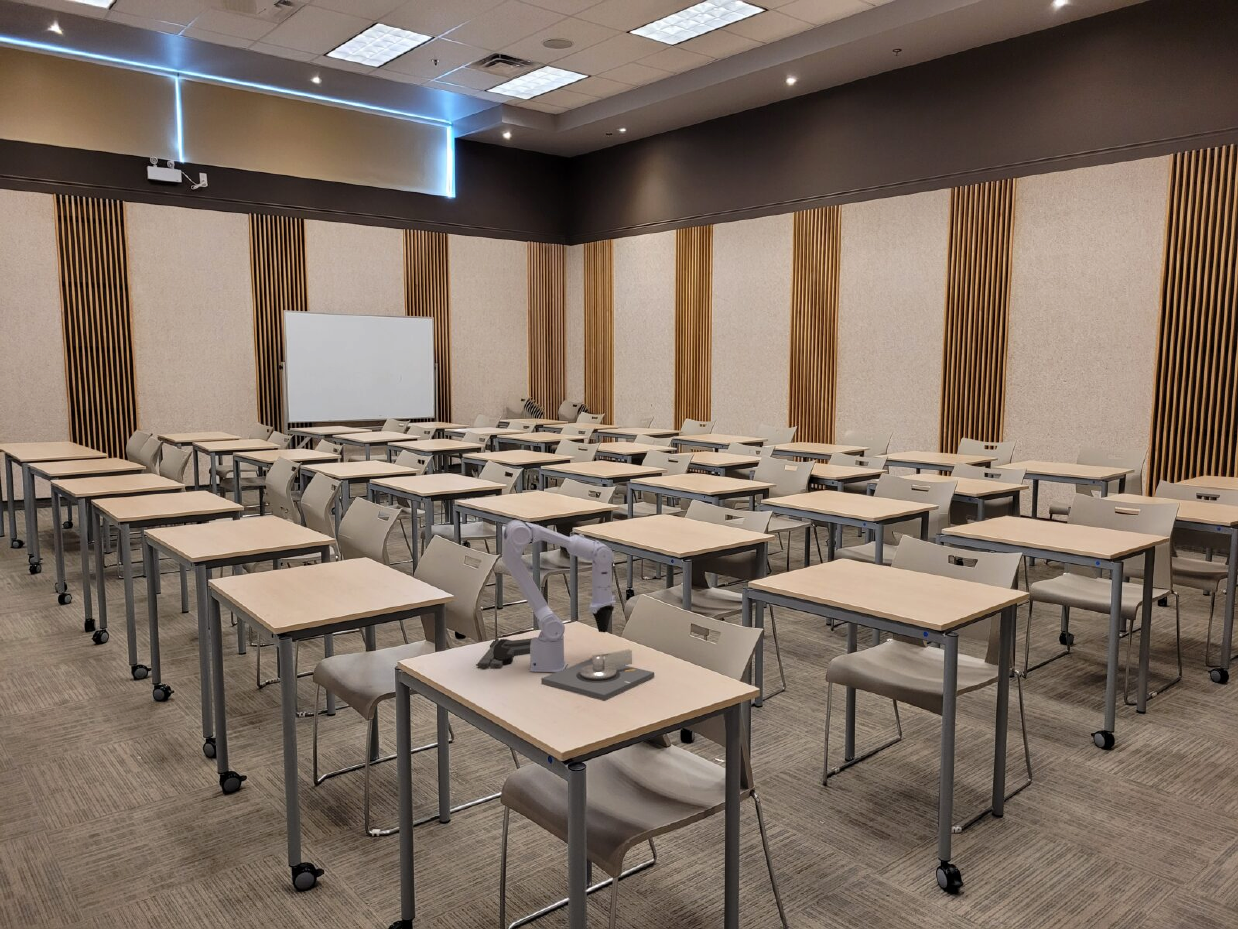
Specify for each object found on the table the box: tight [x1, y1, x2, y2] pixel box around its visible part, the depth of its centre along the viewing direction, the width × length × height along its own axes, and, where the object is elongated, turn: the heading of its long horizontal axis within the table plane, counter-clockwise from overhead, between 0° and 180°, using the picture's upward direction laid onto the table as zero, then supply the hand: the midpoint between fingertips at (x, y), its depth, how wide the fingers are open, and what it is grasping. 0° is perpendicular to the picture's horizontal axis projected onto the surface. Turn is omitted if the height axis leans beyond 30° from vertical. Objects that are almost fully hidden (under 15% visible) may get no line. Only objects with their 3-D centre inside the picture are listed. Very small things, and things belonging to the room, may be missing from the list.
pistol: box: [475, 637, 533, 670], centre depth 264 cm, size 2×26×15 cm
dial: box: [580, 648, 633, 680], centre depth 242 cm, size 16×10×5 cm, turn 122°
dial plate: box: [540, 657, 655, 702], centre depth 241 cm, size 22×22×2 cm
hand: (602, 631), depth 255 cm, fingers closed
